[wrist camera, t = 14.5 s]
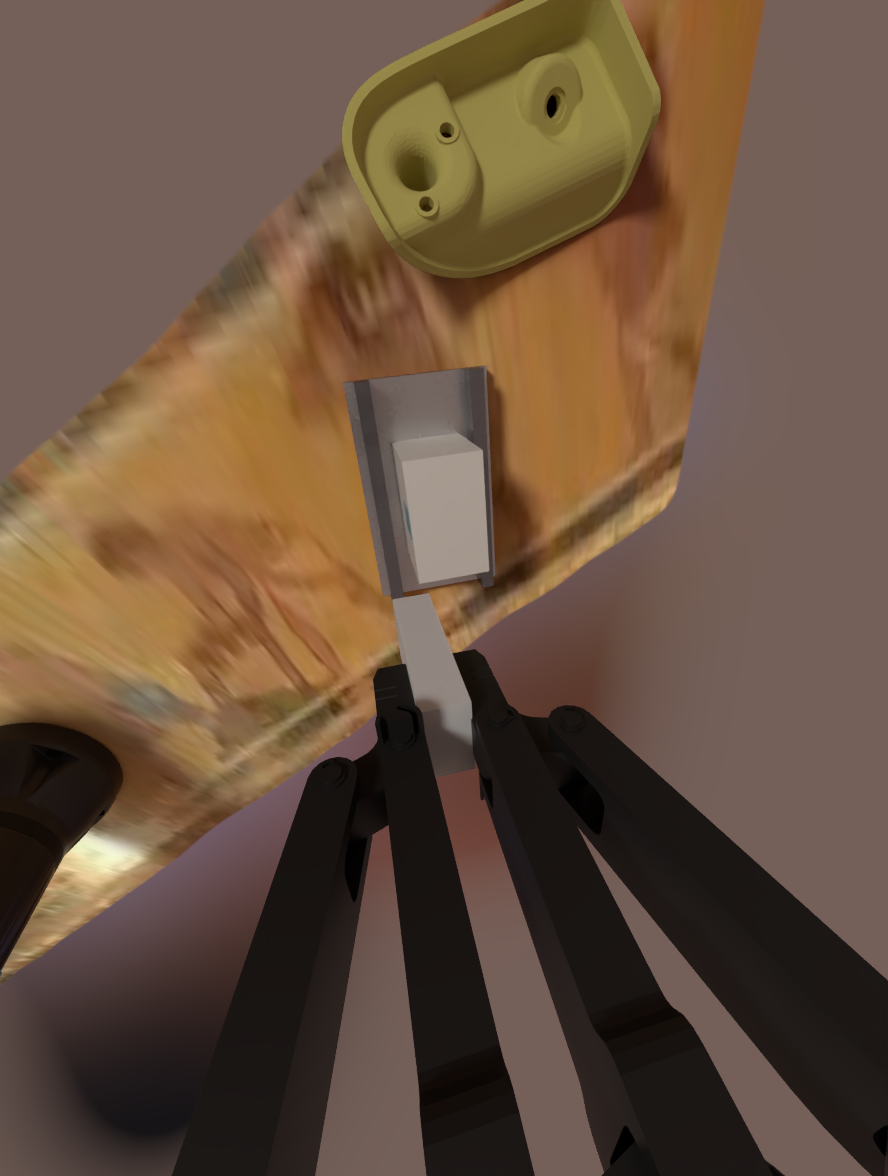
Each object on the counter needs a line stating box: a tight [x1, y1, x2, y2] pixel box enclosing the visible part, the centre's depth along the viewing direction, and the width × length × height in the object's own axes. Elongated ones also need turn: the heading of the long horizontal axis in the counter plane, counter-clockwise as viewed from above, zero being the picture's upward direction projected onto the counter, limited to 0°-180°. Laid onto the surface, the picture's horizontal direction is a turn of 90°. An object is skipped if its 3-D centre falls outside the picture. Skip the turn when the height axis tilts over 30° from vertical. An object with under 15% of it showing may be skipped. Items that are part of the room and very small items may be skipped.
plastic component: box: [342, 0, 661, 278], centre depth 31 cm, size 20×7×10 cm
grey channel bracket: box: [343, 366, 496, 602], centre depth 41 cm, size 12×20×3 cm, turn 6°
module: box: [391, 433, 489, 584], centre depth 38 cm, size 6×10×8 cm, turn 6°
